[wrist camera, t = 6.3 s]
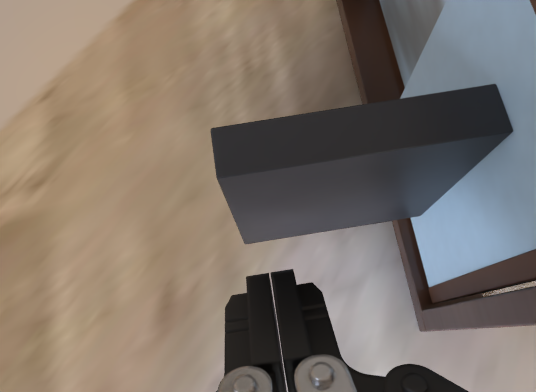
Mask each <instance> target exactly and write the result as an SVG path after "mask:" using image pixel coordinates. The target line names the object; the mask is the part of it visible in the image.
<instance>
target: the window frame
mask: <svg viewBox="0 0 536 392" xmlns="http://www.w3.org/2000/svg"><path fill="white" fill-rule="evenodd" d="M336 1H337V5H338V9H339V12H340V16H341V20H342V24H343V28H344V32H345V36H346V40H347V44H348V48H349V52H350V56H351V60H352V64H353V68H354V72H355V76H356V80H357V84H358V88H359V92H360V95H361V99H362V103H363V104H369V103H376V102H382V101H388V100H395V99H400V98H401V95H402V93H403V91H404V89H405V87H406V85H407V83H408V81H409V79H410V77H411V74H412V72H413V70H414V68H415V66H416V64H417V62H418V60H419V58H420V56H421V53H422V51H423V49H424V47H425V45H426V43H427V41H428V39H429V37H430V35H431V32H432V30H433V28H434V26H435V24H436V22H437V20H438V18H439V16H440V14H441V11H442V9H443V7H444V5H445V3H446V1H447V0H336ZM530 3H531V5H532V7H533V10H534V12H535V15H536V0H530ZM392 222H393V226H394V230H395V234H396V238H397V242H398V246H399V250H400V254H401V258H402V261H403V265H404V269H405V273H406V277H407V281H408V285H409V289H410V293H411V297H412V301H413V305H414V309H415V313H416V317H417V321H418V325H419V329H420V331H421V332H425V331H442V330H460V329H477V328H495V327H513V326H530V325H536V286H534V287H529V288H524V289H520V290H515V291H510V292H506V293H501V294H496V295H491V296H487V297H483V295H482V293H480V294H476V295H472V296H468V297H463V298H459V299H455V300H451V301H446V302H442V303H435V304H433V303H432V300H431V297H430V293H429V289H428V288H429V285H428V282H427V278H426V274H425V270H424V267H423V263H422V259H421V255H420V252H419V248H418V244H417V240H416V237H415V233H414V229H413V225H412V222H411V218H405V219H399V220H393V221H392Z"/></svg>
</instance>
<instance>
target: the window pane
mask: <svg viewBox="0 0 536 392" xmlns="http://www.w3.org/2000/svg"><path fill="white" fill-rule="evenodd" d="M211 137H212V145H213V153H214V161H215V169H216V177H217V180H218V182H219V184H220V187H221V189H222V191H223V194H224V196H225V198H226V201H227V203H228V206H229V208H230V210H231V213H232V215H233V217H234V220H235V222H236V224H237V227H238V229H239V231H240V234H241V236H242V238H243V241H244V243H245V244H250V243H256V242H262V241H269V240H275V239H281V238H287V237H293V236H300V235H306V234H312V233H318V232H325V231H331V230H337V229H343V228H349V227H356V226H362V225H368V224H374V223H380V222H387V221H393V220H399V219H405V218H411V222H412V225H413V229H414V233H415V237H416V240H417V244H418V248H419V252H420V255H421V259H422V263H423V267H424V270H425V274H426V278H427V282H428V285H429V288H428V289H429V293H430V297H431V300H432V303H433V304H435V303H442V302H446V301H451V300H455V299H459V298H463V297H468V296H472V295H476V294H480V293H485V292H489V291H493V290H497V289H502V288H506V287H510V286H514V285H519V284H523V283H527V282H531V281H536V15H535V12H534V10H533V7H532V5H531V3H530V0H447V1H446V3H445V5H444V7H443V9H442V11H441V14H440V16H439V18H438V20H437V22H436V24H435V26H434V28H433V30H432V32H431V35H430V37H429V39H428V41H427V43H426V45H425V47H424V49H423V51H422V53H421V56H420V58H419V60H418V62H417V64H416V66H415V68H414V70H413V72H412V74H411V77H410V79H409V81H408V83H407V85H406V87H405V89H404V91H403V93H402V95H401V98H400V99H395V100H388V101H382V102H376V103H369V104H363V105H357V106H350V107H344V108H338V109H331V110H325V111H318V112H312V113H306V114H299V115H293V116H287V117H280V118H274V119H268V120H261V121H255V122H249V123H242V124H236V125H229V126H223V127H217V128H212V129H211Z"/></svg>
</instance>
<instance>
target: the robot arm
mask: <svg viewBox="0 0 536 392" xmlns="http://www.w3.org/2000/svg"><path fill="white" fill-rule="evenodd" d="M271 279H272V286H273V293H274V300H275V307H276V314H277V320H276V314H275V308H274V302H273V296H272V290H271V284H270V278H269V273H266V274H259V275H253V276H247V277H246V283H247V293H244V294H237V295H232V296H231V298H230V300H229V302H228V304H227V305H226V307H225V373H224V378H223V379H222V381H221V382H220V384H219V387H218V390H217V391H216V392H287V391H286V384H285V377H284V370H283V363H282V356H283V362H284V368H285V374H286V381H287V387H288V392H468V391H467V390H465V389H463V388H461V387H460V386H458V385H456V384H454V383H453V382H451V381H449V380H447V379H446V378H444V377H442V376H440V375H439V374H437V373H435V372H433V371H432V370H430V369H428V368H426V367H423V366H420V365H415V364H404V365H400V366H397V367H395V368H393V369H392V370H391V371H389V373H388V374H387V375H386V377H382V376H374V375H367V374H363V373H360V372H358V371H356V370H354V369H352V368H351V367H349V366H348V365H347V364H346V363H345V362H344V360H343V359H342V357H341V354H340V351H339V348H338V345H337V341H336V338H335V335H334V331H333V328H332V324H331V321H330V318H329V314H328V311H327V308H326V304H325V301H324V297H323V294H322V292H321V291H320V290H319V289H318V288H317V287H316V286H315V285H314V284H313V283H306V284H299V285H296V280H295V276H294V271H293V269H290V270H284V271H278V272H271ZM277 321H278V327H277ZM278 328H279V334H278ZM279 335H280V341H279ZM280 342H281V348H280ZM281 349H282V355H281Z"/></svg>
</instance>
